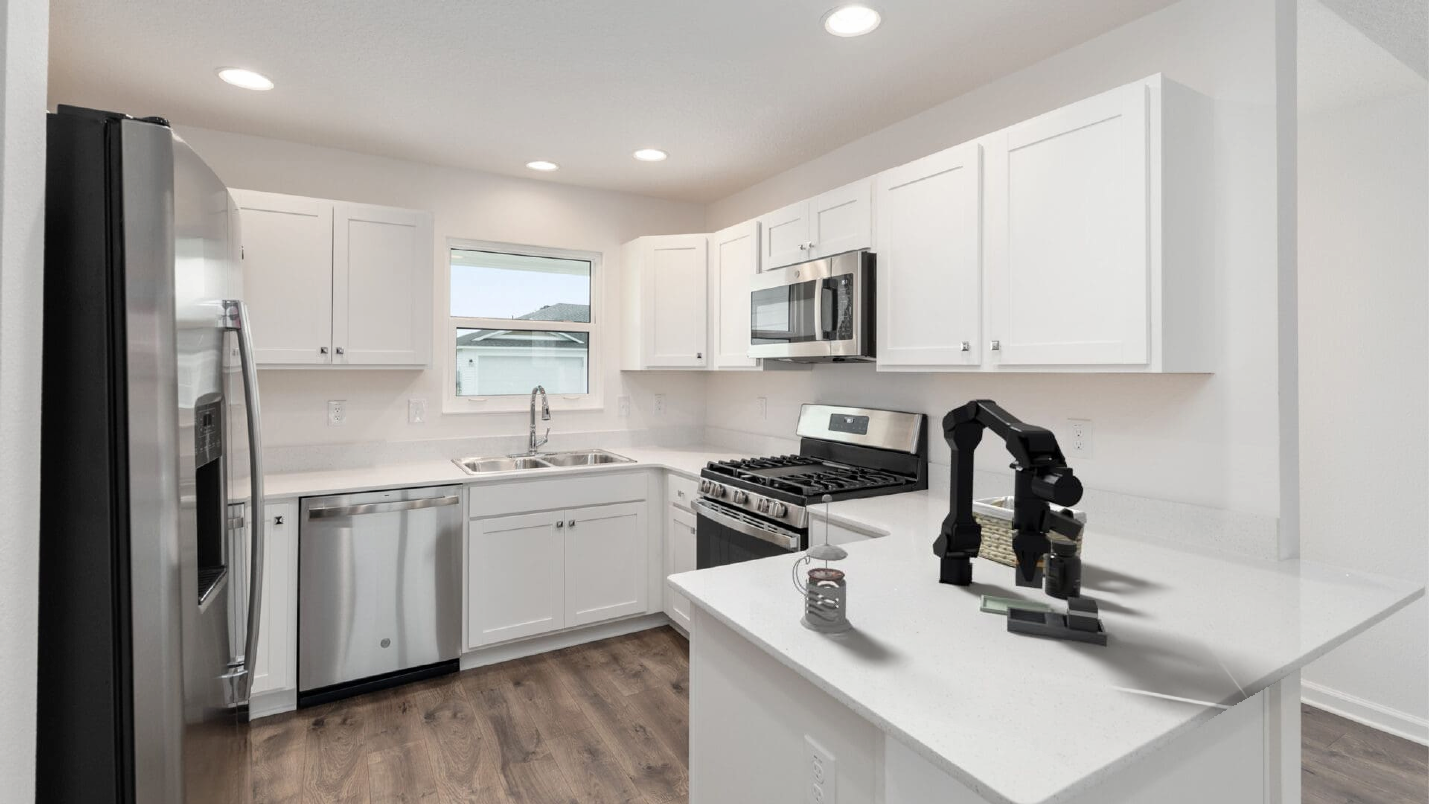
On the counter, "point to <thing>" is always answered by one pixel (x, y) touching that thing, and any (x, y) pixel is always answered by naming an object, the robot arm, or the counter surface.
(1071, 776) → the counter surface
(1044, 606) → the tray
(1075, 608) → the twin plug
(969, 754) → the counter surface
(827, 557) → the french press
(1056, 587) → the supplement bottle
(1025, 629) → the strip
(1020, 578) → the dark grey striped block
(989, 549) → the storage basket
